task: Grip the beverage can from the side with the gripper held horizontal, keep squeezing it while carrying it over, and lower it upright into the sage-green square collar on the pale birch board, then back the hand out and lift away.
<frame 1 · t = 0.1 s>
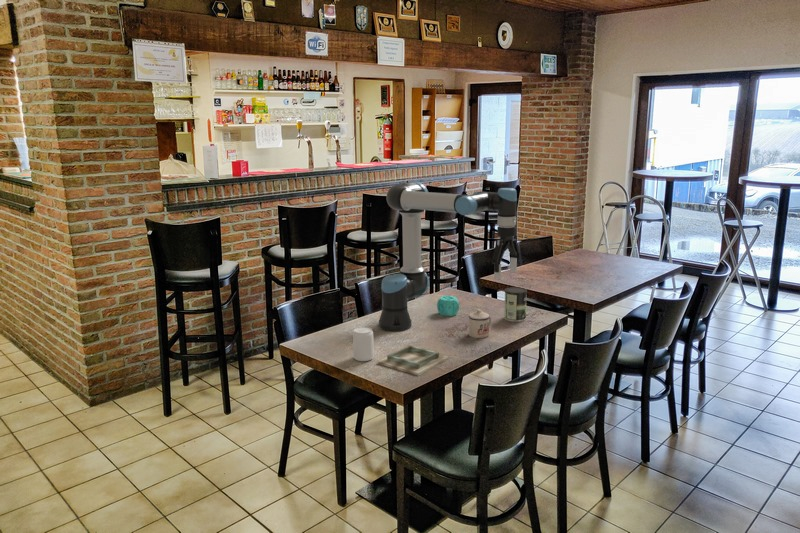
hand: (505, 276, 256), 28 cm above the table, fingers open, 13 cm apart
beverage can: (363, 358, 244), on the table
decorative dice: (448, 314, 298), on the table
teacup with lid: (481, 334, 269), on the table
coffee can: (515, 318, 289), on the table
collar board: (413, 361, 240), on the table
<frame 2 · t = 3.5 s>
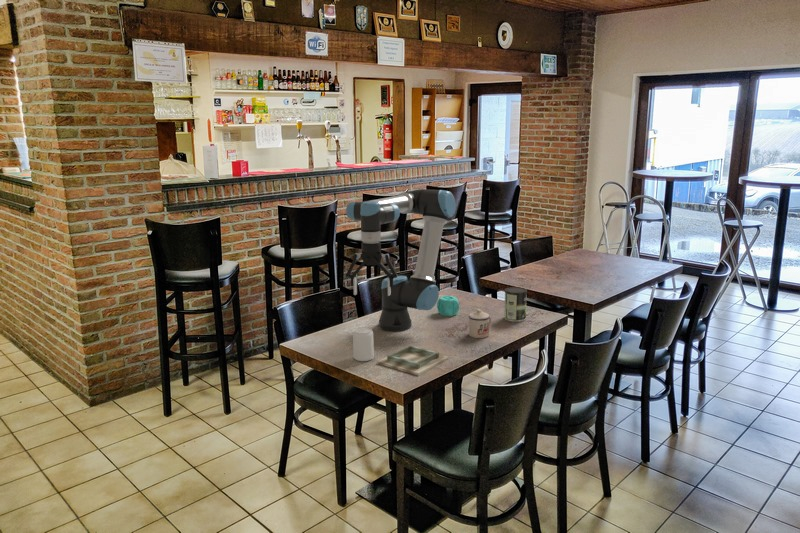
hand: (372, 294, 242), 26 cm above the table, fingers open, 13 cm apart
nothing on the table moved.
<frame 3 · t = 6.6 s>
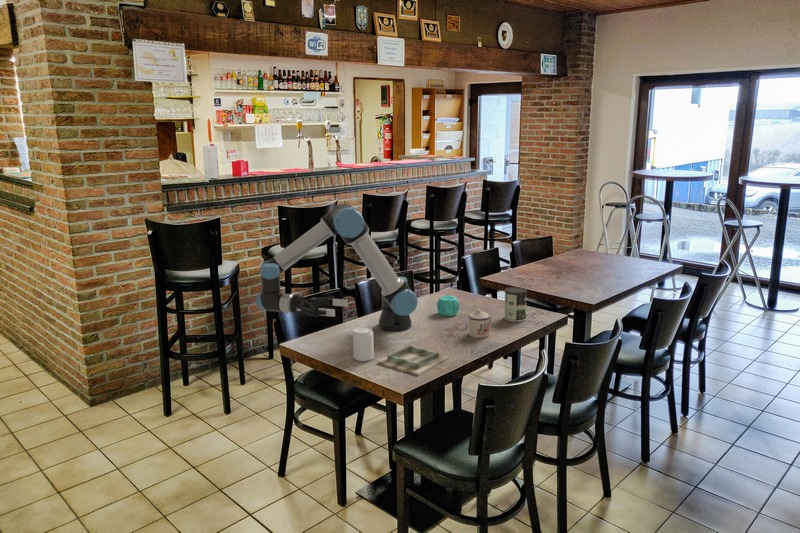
hand: (341, 308, 243), 20 cm above the table, fingers open, 13 cm apart
nothing on the table moved.
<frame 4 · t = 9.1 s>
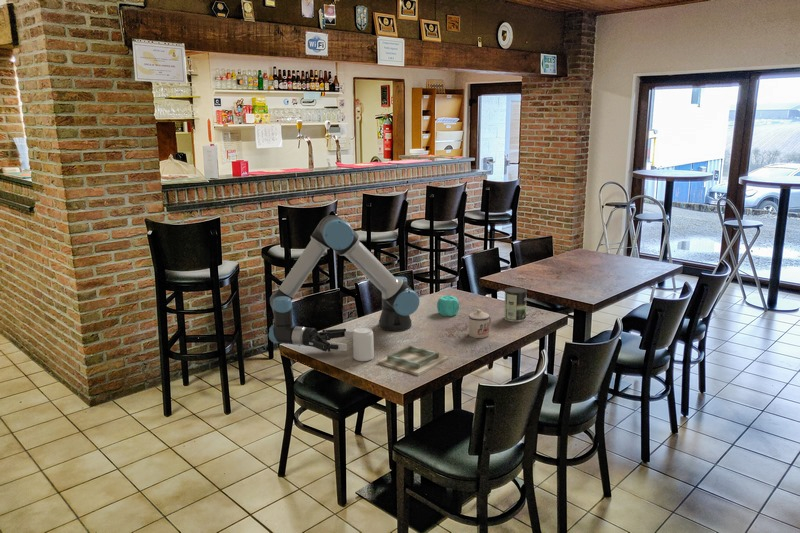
hand: (353, 341, 244), 7 cm above the table, fingers open, 13 cm apart
nothing on the table moved.
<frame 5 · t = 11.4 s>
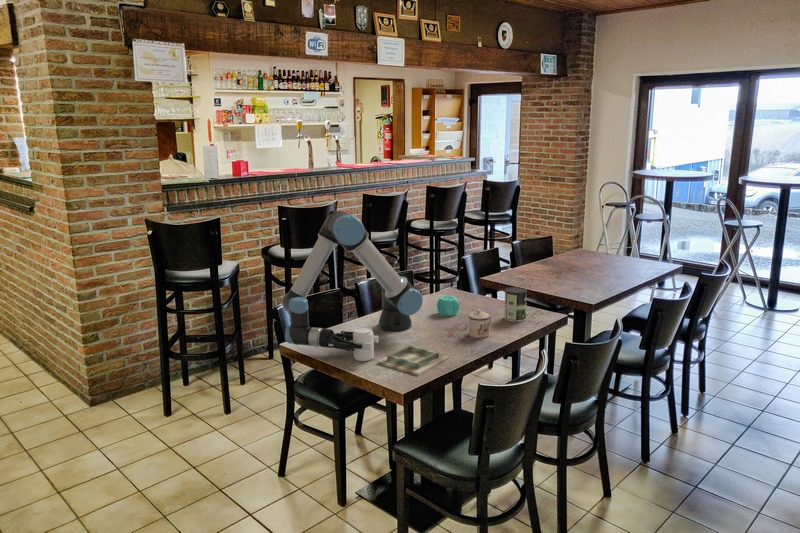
hand: (374, 342, 241), 7 cm above the table, fingers closed on beverage can, 8 cm apart
beverage can: (363, 358, 244), on the table, touching gripper
everything else where it was.
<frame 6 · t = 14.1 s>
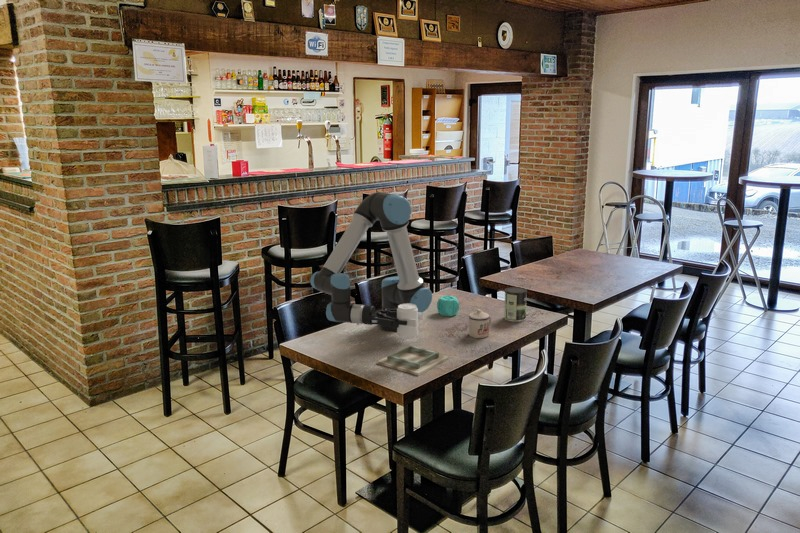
hand: (419, 319, 234), 18 cm above the table, fingers closed on beverage can, 8 cm apart
beverage can: (407, 336, 238), point 11 cm above the table, touching gripper
everything else where it was.
when the fingers open (9 cm above the table, at t = 16.8 s): beverage can moves 3 cm, resting on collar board.
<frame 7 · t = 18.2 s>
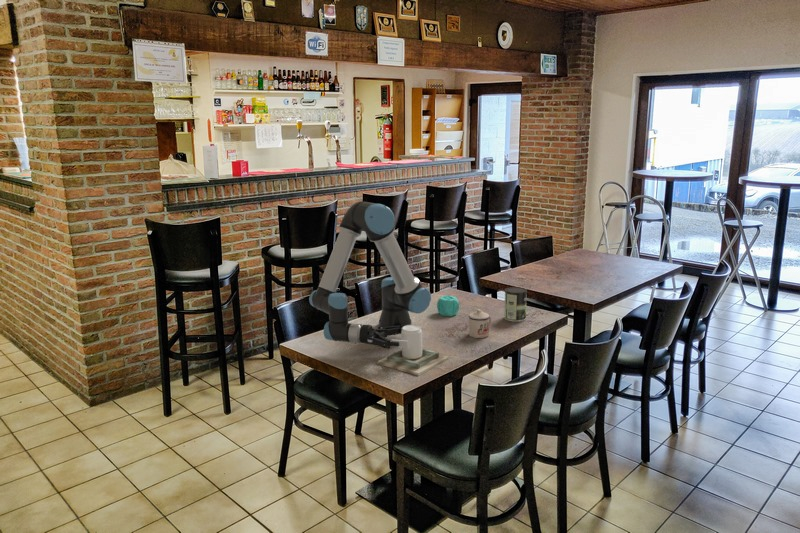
hand: (412, 338, 238), 10 cm above the table, fingers open, 13 cm apart
beverage can: (412, 356, 243), point 1 cm above the table, touching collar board
everything else where it was.
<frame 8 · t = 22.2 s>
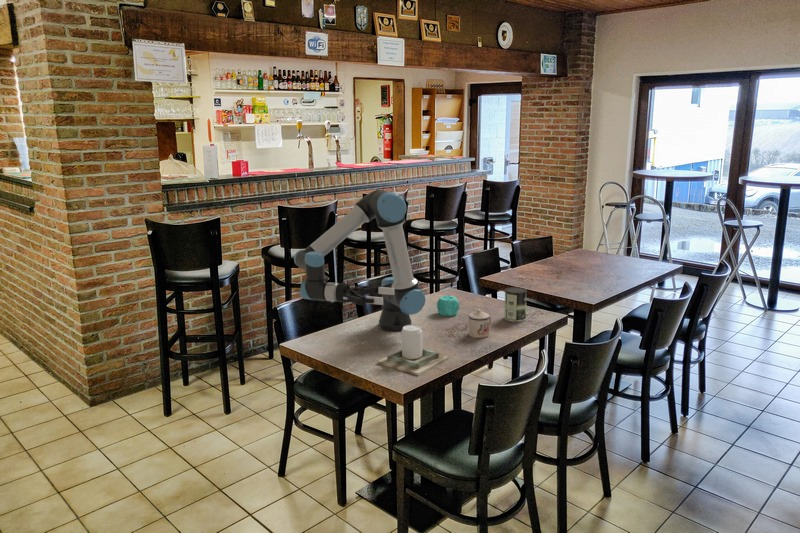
hand: (388, 296, 237), 26 cm above the table, fingers open, 13 cm apart
nothing on the table moved.
at the end: beverage can 2.7 cm off-centre on the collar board, point 0.8 cm above the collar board's base; beverage can tilted 0°; the gripper is holding nothing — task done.
